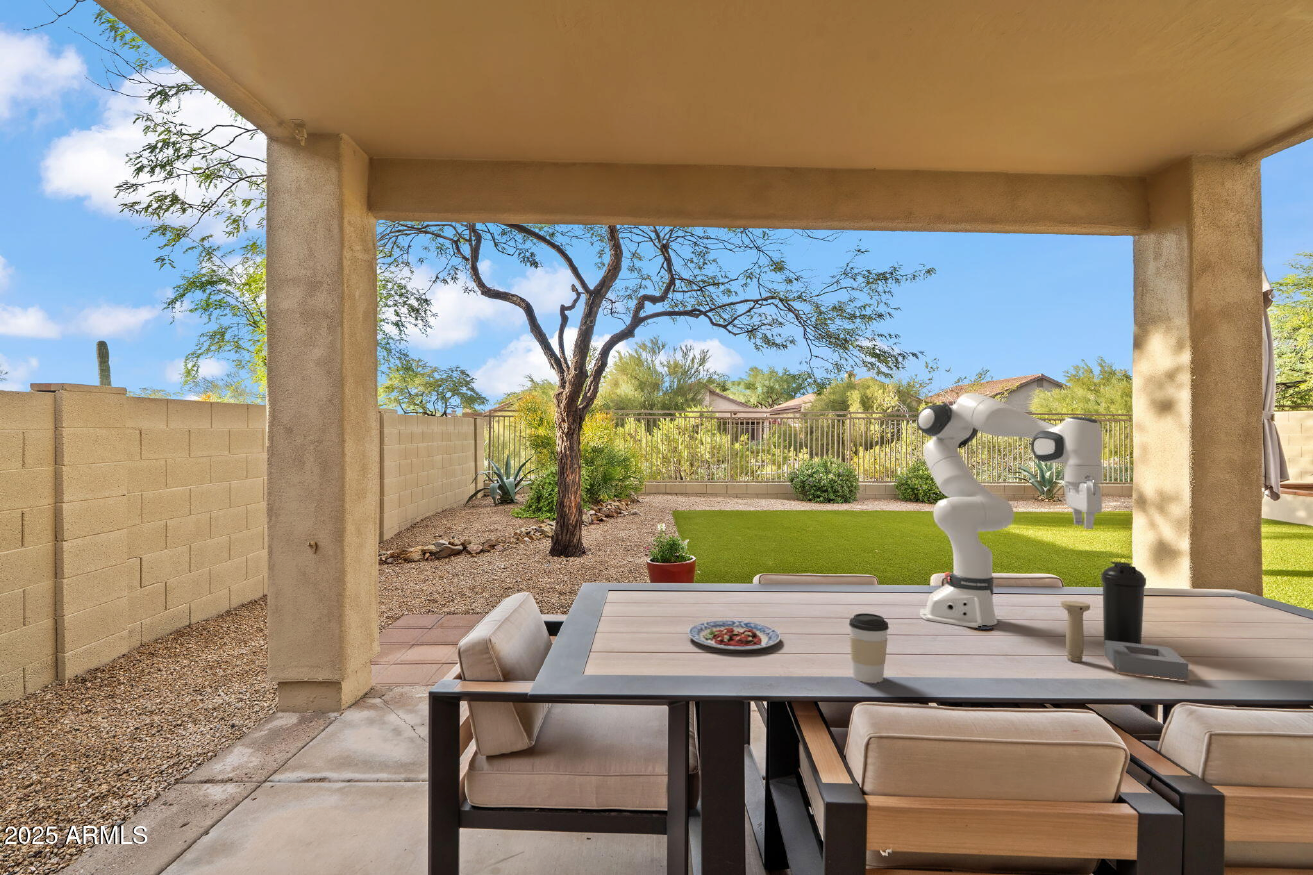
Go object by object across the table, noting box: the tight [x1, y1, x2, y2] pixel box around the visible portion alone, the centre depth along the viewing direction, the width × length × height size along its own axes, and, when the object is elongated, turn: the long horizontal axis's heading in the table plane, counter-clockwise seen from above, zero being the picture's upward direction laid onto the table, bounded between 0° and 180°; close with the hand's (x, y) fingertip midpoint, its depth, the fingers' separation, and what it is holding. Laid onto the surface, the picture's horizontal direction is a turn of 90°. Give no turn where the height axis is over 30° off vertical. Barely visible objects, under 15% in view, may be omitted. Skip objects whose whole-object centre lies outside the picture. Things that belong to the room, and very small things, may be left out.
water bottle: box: [1100, 561, 1147, 646], centre depth 183 cm, size 10×10×23 cm
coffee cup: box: [848, 612, 890, 684], centre depth 157 cm, size 9×9×15 cm
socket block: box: [1103, 640, 1189, 682], centre depth 165 cm, size 14×13×4 cm
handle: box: [1060, 600, 1091, 663], centre depth 171 cm, size 5×6×15 cm
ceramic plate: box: [688, 619, 782, 651], centre depth 185 cm, size 26×26×3 cm
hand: (1083, 526), depth 179 cm, fingers open, 8 cm apart
